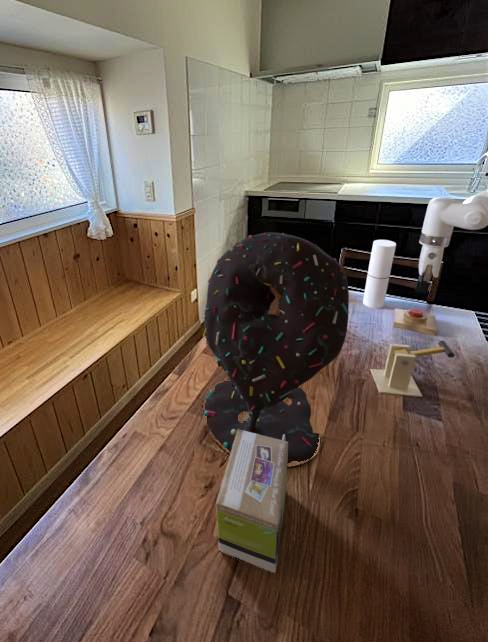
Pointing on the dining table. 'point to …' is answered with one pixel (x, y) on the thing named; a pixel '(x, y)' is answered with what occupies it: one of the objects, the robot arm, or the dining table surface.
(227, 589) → the dining table surface
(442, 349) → the switch lever
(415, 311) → the lamp button
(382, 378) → the switch bracket
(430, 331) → the button block
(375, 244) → the cylindrical container
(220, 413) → the chocolate sprinkled donut
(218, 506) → the tea box
